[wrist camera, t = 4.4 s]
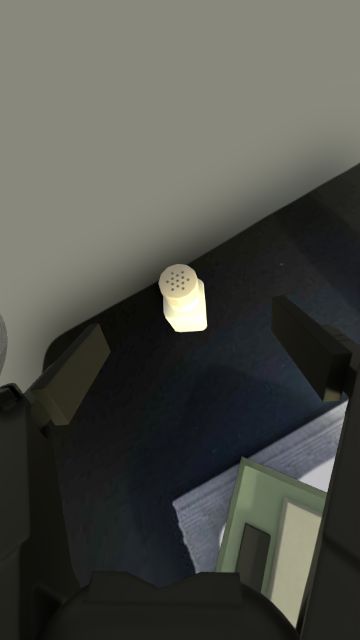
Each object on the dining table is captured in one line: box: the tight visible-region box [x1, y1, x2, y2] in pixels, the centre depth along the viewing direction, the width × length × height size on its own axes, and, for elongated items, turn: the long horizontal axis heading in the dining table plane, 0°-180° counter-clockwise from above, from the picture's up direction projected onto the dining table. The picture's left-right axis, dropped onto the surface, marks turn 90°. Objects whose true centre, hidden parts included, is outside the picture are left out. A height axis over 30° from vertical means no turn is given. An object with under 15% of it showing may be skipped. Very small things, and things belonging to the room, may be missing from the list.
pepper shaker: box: [159, 264, 207, 332], centre depth 21 cm, size 4×4×10 cm
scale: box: [215, 457, 327, 628], centre depth 15 cm, size 15×13×3 cm
